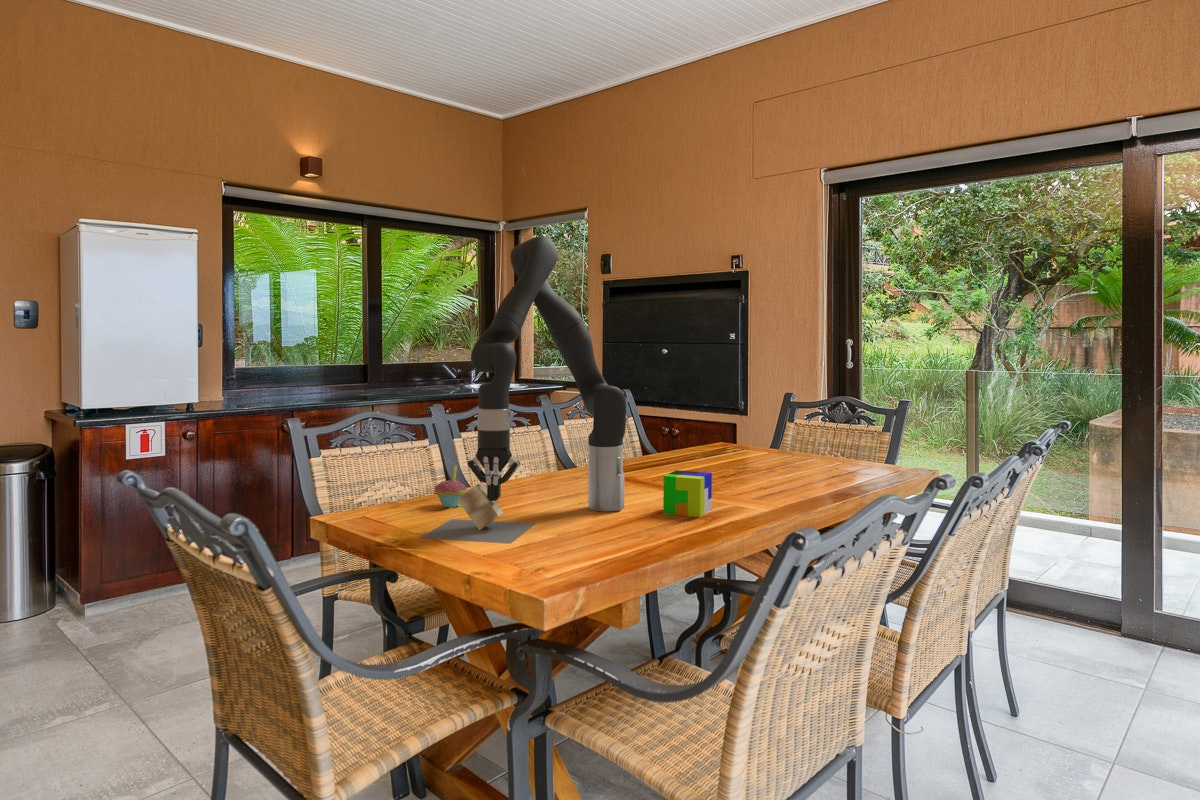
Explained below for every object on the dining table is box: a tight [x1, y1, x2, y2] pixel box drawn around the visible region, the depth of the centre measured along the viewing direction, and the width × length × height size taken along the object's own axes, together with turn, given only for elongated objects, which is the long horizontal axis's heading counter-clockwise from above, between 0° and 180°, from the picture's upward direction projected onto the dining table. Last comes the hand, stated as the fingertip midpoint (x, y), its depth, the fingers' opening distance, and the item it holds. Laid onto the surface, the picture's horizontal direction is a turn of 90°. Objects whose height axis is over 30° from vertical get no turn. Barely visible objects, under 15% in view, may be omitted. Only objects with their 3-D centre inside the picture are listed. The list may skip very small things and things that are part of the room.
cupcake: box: [433, 462, 468, 508], centre depth 209 cm, size 9×8×12 cm
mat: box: [418, 518, 537, 544], centre depth 181 cm, size 22×19×1 cm
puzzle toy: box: [662, 469, 713, 518], centre depth 202 cm, size 10×10×10 cm
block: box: [458, 482, 505, 530], centre depth 183 cm, size 6×4×9 cm
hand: (493, 500), depth 181 cm, fingers closed
